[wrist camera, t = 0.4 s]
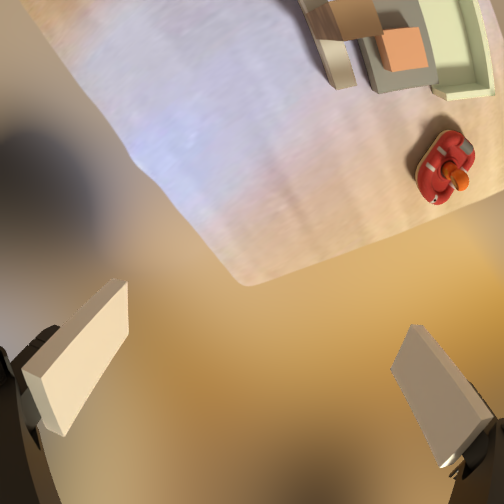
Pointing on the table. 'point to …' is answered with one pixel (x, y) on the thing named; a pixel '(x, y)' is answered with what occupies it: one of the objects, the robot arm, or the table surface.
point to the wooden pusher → (339, 33)
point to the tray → (459, 49)
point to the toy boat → (445, 167)
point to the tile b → (401, 49)
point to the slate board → (382, 81)
